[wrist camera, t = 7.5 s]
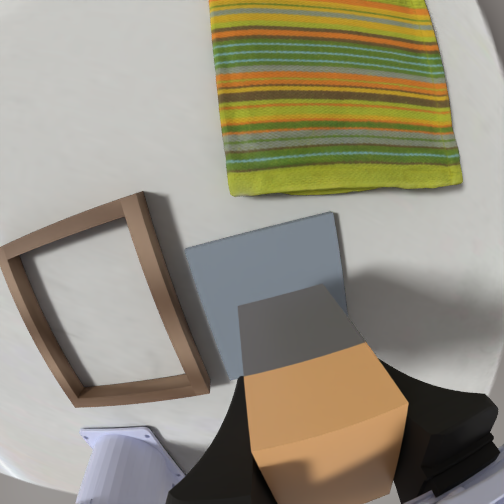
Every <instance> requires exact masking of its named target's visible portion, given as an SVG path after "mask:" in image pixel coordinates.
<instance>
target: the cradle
mask: <svg viewBox="0 0 504 504" xmlns="http://www.w3.org/2000/svg"><path fill="white" fill-rule="evenodd" d="M122 217H125V218H126V221H127V225H128V228H129V231H130V234H131V237H132V240H133V243H134V246H135V249H136V252H137V255H138V258H139V261H140V264H141V266H142V269H143V272H144V275H145V278H146V280H147V283H148V286H149V288H150V291H151V293H152V296H153V299H154V301H155V304H156V306H157V309H158V311H159V314H160V316H161V319H162V321H163V324H164V326H165V328H166V331H167V333H168V335H169V338H170V340H171V342H172V345H173V347H174V349H175V351H176V354H177V356H178V358H179V360H180V363H181V365H182V367H183V369H184V371H185V373H186V374H183V375H177V376H171V377H165V378H158V379H152V380H145V381H137V382H130V383H121V384H113V385H103V386H93V387H83V385H82V384H81V382H80V380H79V379H78V377H77V376H76V374H75V372H74V371H73V369H72V367H71V366H70V364H69V362H68V360H67V359H66V357H65V355H64V353H63V352H62V350H61V348H60V346H59V344H58V342H57V340H56V339H55V337H54V335H53V333H52V331H51V329H50V327H49V325H48V323H47V321H46V319H45V317H44V314H43V312H42V310H41V308H40V306H39V304H38V301H37V299H36V297H35V295H34V292H33V290H32V287H31V285H30V283H29V280H28V278H27V275H26V273H25V270H24V267H23V265H22V262H21V259H20V256H19V255H20V254H23V253H25V252H28V251H30V250H33V249H35V248H38V247H40V246H43V245H45V244H48V243H51V242H53V241H56V240H59V239H61V238H64V237H67V236H69V235H72V234H75V233H78V232H81V231H83V230H86V229H89V228H92V227H95V226H98V225H101V224H104V223H107V222H110V221H113V220H116V219H119V218H122ZM0 267H1V270H2V272H3V275H4V277H5V280H6V283H7V285H8V287H9V290H10V292H11V295H12V297H13V299H14V301H15V304H16V306H17V308H18V310H19V312H20V315H21V317H22V319H23V321H24V323H25V325H26V327H27V329H28V331H29V333H30V335H31V337H32V339H33V340H34V342H35V344H36V346H37V348H38V350H39V351H40V353H41V355H42V357H43V358H44V360H45V362H46V364H47V365H48V367H49V369H50V370H51V372H52V373H53V375H54V377H55V378H56V380H57V381H58V383H59V385H60V386H61V388H62V389H63V391H64V392H65V394H66V395H67V397H68V398H69V399H70V401H71V402H72V404H73V405H74V407H75V408H79V407H101V406H116V405H128V404H138V403H147V402H156V401H164V400H171V399H178V398H185V397H191V396H197V395H203V394H209V393H210V378H209V376H208V373H207V371H206V369H205V366H204V364H203V362H202V359H201V357H200V354H199V352H198V350H197V347H196V345H195V342H194V340H193V337H192V335H191V332H190V330H189V327H188V324H187V322H186V319H185V317H184V314H183V311H182V309H181V306H180V303H179V300H178V298H177V295H176V292H175V289H174V287H173V284H172V281H171V278H170V275H169V272H168V269H167V266H166V264H165V261H164V258H163V255H162V252H161V248H160V245H159V242H158V239H157V236H156V233H155V230H154V226H153V223H152V220H151V217H150V213H149V210H148V206H147V203H146V200H145V196H144V193H143V191H142V192H139V193H136V194H133V195H130V196H127V197H124V198H121V199H118V200H115V201H112V202H109V203H107V204H104V205H101V206H98V207H95V208H93V209H90V210H87V211H85V212H82V213H79V214H77V215H74V216H72V217H69V218H66V219H64V220H61V221H59V222H56V223H54V224H51V225H49V226H47V227H44V228H42V229H39V230H37V231H35V232H32V233H30V234H28V235H25V236H23V237H21V238H19V239H16V240H14V241H12V242H10V243H8V244H6V245H3V246H1V247H0Z"/></svg>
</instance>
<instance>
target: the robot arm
mask: <svg viewBox="0 0 504 504" xmlns="http://www.w3.org/2000/svg"><path fill="white" fill-rule="evenodd" d="M378 360H379V361H380V362H381V364H382V365H383V367H384V368H385V369H386V371H387V372H388V374H389V375H390V377H391V378H392V379H393V381H394V382H395V384H396V385H397V387H398V388H399V390H400V391H401V392H402V394H403V395H404V397H405V398H406V400H407V401H408V403H409V404H408V410H407V417H406V423H405V429H404V434H403V439H402V444H401V449H400V454H399V458H398V463H397V467H396V471H395V475H394V479H393V480H394V483H395V486H396V489H397V492H398V495H399V498H400V502H401V504H504V444H503V445H502V446H500V447H499V448H497V447H496V446H495V444H494V443H493V442H492V440H493V439H494V436H493V435H492V434H491V433H490V431H491V429H492V426H493V425H494V422H495V420H496V418H497V415H498V408H497V406H496V405H495V404H494V403H493V402H492V401H491V399H490V398H489V397H488V396H486V395H485V394H481V393H468V392H460V391H455V390H449V389H445V388H441V387H437V386H434V385H431V384H428V383H425V382H422V381H420V380H417V379H415V378H412V377H410V376H408V375H406V374H404V373H402V372H400V371H398V370H396V369H395V368H393V367H391V366H390V365H388V364H386V363H385V362H383V361H381V360H380V359H378ZM79 433H80V435H81V436H82V437H83V438H84V440H85V441H86V442H87V443H88V444H89V445H90V447H91V448H92V449H93V451H92V454H91V457H90V460H89V463H88V466H87V469H86V472H85V475H84V478H83V481H82V484H81V487H80V490H79V493H78V496H77V500H76V503H75V504H278V503H277V501H276V500H275V498H274V496H273V494H272V492H271V490H270V488H269V486H268V484H267V482H266V480H265V478H264V476H263V474H262V473H261V471H260V469H259V466H258V464H257V462H256V460H255V458H254V456H253V454H252V452H251V444H250V435H249V425H248V415H247V405H246V395H245V385H244V376H240V377H239V378H238V380H237V384H236V388H235V392H234V395H233V398H232V401H231V404H230V407H229V409H228V412H227V414H226V417H225V419H224V421H223V423H222V425H221V427H220V429H219V431H218V433H217V435H216V437H215V438H214V440H213V442H212V443H211V445H210V446H209V448H208V449H207V451H206V452H205V454H204V455H203V456H202V458H201V459H200V460H199V462H198V463H197V464H196V465H195V466H194V467H193V468H192V470H191V471H190V472H189V473H188V474H187V475H186V476H185V474H184V473H183V472H182V471H181V469H180V468H179V467H178V466H177V464H176V463H175V462H174V461H173V459H172V458H171V457H170V456H169V454H168V453H167V452H166V450H165V449H164V448H163V446H162V445H161V444H160V442H159V441H158V440H157V438H156V437H155V435H154V434H153V433H152V431H151V430H150V429H149V428H147V427H133V428H110V429H80V431H79Z"/></svg>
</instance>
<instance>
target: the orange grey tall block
mask: <svg viewBox="0 0 504 504" xmlns="http://www.w3.org/2000/svg"><path fill="white" fill-rule="evenodd" d="M238 318H239V330H240V341H241V352H242V363H243V374H244V385H245V395H246V405H247V415H248V425H249V435H250V444H251V452H252V454H253V456H254V458H255V460H256V462H257V464H258V466H259V469H260V471H261V473H262V474H263V476H264V478H265V480H266V482H267V484H268V486H269V488H270V490H271V492H272V494H273V496H274V498H275V500H276V501H277V503H278V504H364V503H367V502H369V501H372V500H374V499H377V498H380V497H382V496H385V495H387V494H389V493H390V490H391V486H392V483H393V479H394V475H395V471H396V467H397V463H398V458H399V454H400V449H401V444H402V439H403V434H404V429H405V423H406V417H407V410H408V404H409V403H408V401H407V400H406V398H405V397H404V395H403V394H402V392H401V391H400V390H399V388H398V387H397V385H396V384H395V382H394V381H393V379H392V378H391V377H390V375H389V374H388V372H387V371H386V369H385V368H384V367H383V365H382V364H381V362H380V361H379V360H378V358H377V357H376V355H375V354H374V353H373V351H372V350H371V348H370V347H369V346H368V344H367V343H366V341H365V340H364V339H363V337H362V336H361V335H360V333H359V332H358V330H357V329H356V328H355V326H354V325H353V324H352V322H351V321H350V319H349V318H348V317H347V315H346V314H345V313H344V311H343V310H342V309H341V307H340V306H339V305H338V303H337V302H336V301H335V299H334V298H333V297H332V295H331V294H330V293H329V291H328V290H327V289H326V287H325V286H324V285H323V283H322V284H319V285H315V286H312V287H308V288H304V289H301V290H297V291H293V292H290V293H286V294H282V295H278V296H275V297H271V298H267V299H263V300H259V301H255V302H251V303H247V304H243V305H239V306H238Z"/></svg>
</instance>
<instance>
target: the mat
mask: <svg viewBox="0 0 504 504" xmlns="http://www.w3.org/2000/svg"><path fill="white" fill-rule="evenodd" d="M185 254H186V257H187V260H188V263H189V266H190V269H191V273H192V276H193V279H194V282H195V285H196V288H197V291H198V294H199V297H200V300H201V303H202V305H203V308H204V311H205V314H206V317H207V320H208V323H209V325H210V328H211V331H212V334H213V336H214V339H215V342H216V345H217V347H218V350H219V353H220V355H221V358H222V361H223V363H224V366H225V369H226V371H227V374H228V376H229V379H230V380H234V379H238V378H239V377H240V376H244V374H243V363H242V352H241V341H240V330H239V318H238V306H239V305H243V304H247V303H251V302H255V301H259V300H263V299H267V298H271V297H275V296H278V295H282V294H286V293H290V292H293V291H297V290H301V289H304V288H308V287H312V286H315V285H319V284H322V283H323V285H324V286H325V287H326V289H327V290H328V291H329V293H330V294H331V295H332V297H333V298H334V299H335V301H336V302H337V303H338V305H339V306H340V307H341V309H342V310H343V311H344V313H345V314H346V315H347V317H348V313H347V304H346V296H345V288H344V280H343V273H342V266H341V259H340V252H339V245H338V239H337V233H336V227H335V221H334V215H333V213H332V212H326V213H322V214H318V215H314V216H310V217H306V218H302V219H297V220H293V221H289V222H285V223H281V224H277V225H273V226H269V227H265V228H262V229H258V230H254V231H250V232H246V233H242V234H238V235H234V236H230V237H226V238H223V239H219V240H215V241H211V242H207V243H204V244H200V245H196V246H192V247H188V248H185Z"/></svg>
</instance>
